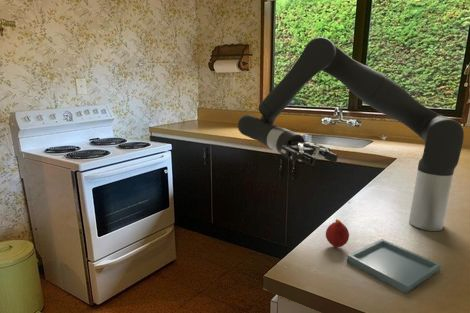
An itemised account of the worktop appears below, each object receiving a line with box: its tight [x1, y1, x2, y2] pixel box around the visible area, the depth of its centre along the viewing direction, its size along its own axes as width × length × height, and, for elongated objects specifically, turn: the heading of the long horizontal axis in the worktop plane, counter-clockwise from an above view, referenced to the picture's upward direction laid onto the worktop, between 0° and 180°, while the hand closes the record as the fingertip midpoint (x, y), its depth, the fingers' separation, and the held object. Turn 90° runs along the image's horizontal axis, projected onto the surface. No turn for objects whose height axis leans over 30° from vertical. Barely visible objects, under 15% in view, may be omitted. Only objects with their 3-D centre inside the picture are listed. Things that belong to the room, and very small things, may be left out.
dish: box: [346, 239, 442, 295], centre depth 82 cm, size 15×15×2 cm
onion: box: [325, 218, 350, 249], centre depth 89 cm, size 6×6×8 cm
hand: (325, 160), depth 90 cm, fingers open, 8 cm apart
